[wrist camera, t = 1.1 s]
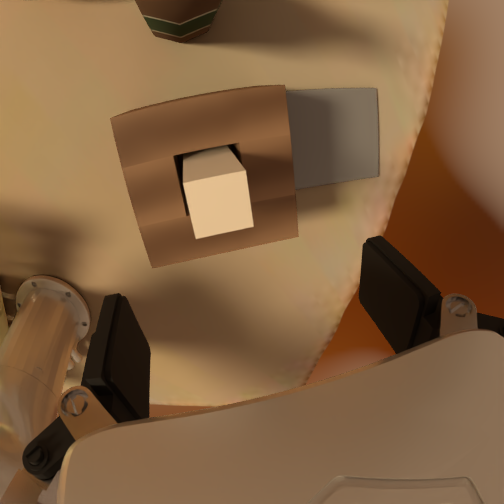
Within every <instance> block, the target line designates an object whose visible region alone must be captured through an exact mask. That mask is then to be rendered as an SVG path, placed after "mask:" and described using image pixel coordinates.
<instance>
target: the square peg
mask: <svg viewBox="0 0 504 504" xmlns="http://www.w3.org/2000/svg"><path fill="white" fill-rule="evenodd" d="M183 186H184V190H185V195H186V199H187V204H188V208H189V212H190V217H191V221H192V225H193V229H194V234H195V238H196V239H198V238H203V237H208V236H212V235H217V234H221V233H226V232H231V231H236V230H240V229H245V228H250V227H254V225H253V218H252V211H251V204H250V197H249V190H248V183H247V176H246V170H245V169H244V167H243V166H242V165H241V163H240V162H239V161H238V159H237V158H236V157H235V155H234V154H233V153H232V151H231V150H230V149H229V148H228V146H227V145H222V146H217V147H212V148H207V149H202V150H197V151H192V152H187V153H183Z"/></svg>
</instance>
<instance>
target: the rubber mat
mask: <svg viewBox="0 0 504 504" xmlns="http://www.w3.org/2000/svg"><path fill="white" fill-rule="evenodd" d="M286 100H287V108H288V118H289V127H290V137H291V147H292V158H293V169H294V181H295V190H297V189H302V188H308V187H314V186H320V185H326V184H332V183H339V182H345V181H352V180H358V179H365V178H372V177H378V164H379V148H378V110H377V91H376V88H331V89H311V90H296V91H286Z"/></svg>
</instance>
